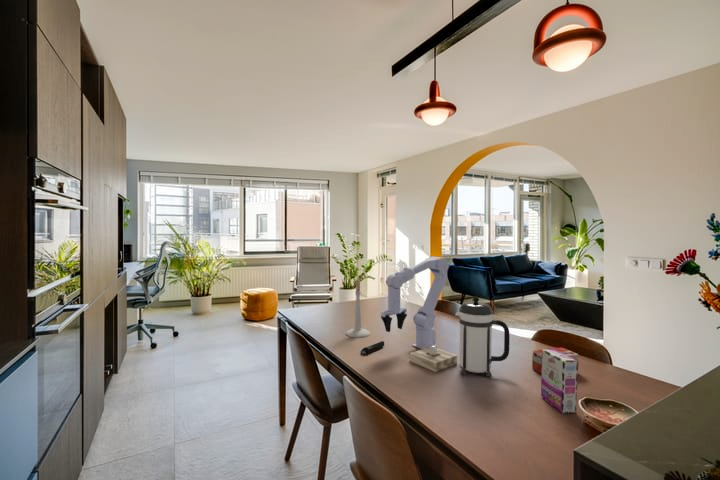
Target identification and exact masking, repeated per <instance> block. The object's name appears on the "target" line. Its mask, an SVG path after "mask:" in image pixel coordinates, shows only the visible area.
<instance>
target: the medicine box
mask: <svg viewBox="0 0 720 480" xmlns="http://www.w3.org/2000/svg"><path fill="white" fill-rule="evenodd" d="M551 349H555V350H557V351H559V352H561V353H563V354H565V355H567V356H569V357H571V358H573V359H575V360H577V361H578V362H579V354H578V353H576V352H573V350H572V351H571V350H569V349H567V348H564V347H554V348H551ZM542 350H543V349H537V350H536V349H535V350H532V358H531V359H532V360H531V362H532V364H531V365H532V370H533V371H535V370H536V371H535V372H537V371H538V372H537V373H540V374H542ZM578 372H579V367H578V368H577V373H578ZM578 374H579V373H578Z"/></svg>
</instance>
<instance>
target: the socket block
mask: <svg viewBox="0 0 720 480" xmlns="http://www.w3.org/2000/svg"><path fill="white" fill-rule="evenodd" d="M409 362H411V363H413V364H416V365H418V366H421V367H423V368H426V369H427V370H431V371H433V372H435V373H436V372H439V371H441V370H444V369H446V368H448V367H451V366H454V365H457V364H458V355H457V354H454V353H452V352H448V351H447V350H443V349H441V348H438V347H437V356H436V357H433V356H430V355H429V347H428V348H425V349H417V350H416V351H412V352H409Z"/></svg>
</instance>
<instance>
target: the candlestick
mask: <svg viewBox="0 0 720 480" xmlns="http://www.w3.org/2000/svg"><path fill="white" fill-rule="evenodd" d="M355 284H356V287H355V290H356V291H354V293H355V296H356V298H355V301H356V302H355V314H354V315H355V316H354V328H350V329H348V330H347V331H346V332H345V335H346V336H347V337H350V338H354V339H355V338H357V339H358V338H359V339H361V338H367V337H369V336H370V334H371V333H370V331H369V330H368V329H365V328H362V320H361V319H362V313H361V293H362V291H361V280H360V279H359V278H358V279H356V281H355Z"/></svg>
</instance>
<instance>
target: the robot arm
mask: <svg viewBox="0 0 720 480" xmlns="http://www.w3.org/2000/svg"><path fill="white" fill-rule="evenodd" d="M449 268H450V264H449V261H448V259H446V257H438V256H430V257H427V258H425V259H424V260H423V261H421V262H419V263H418V264H416V265H415V266H413V267H403V269H401V270H400V271H396V272H395V273H394V274H388V276H387V277H386V280H385V284H386V286H387V309H386V310H384V311H381V312H380V318H381V320H382V322H383V324H384V329H385V331H386V332H387V333H391V324H392V320H393V318H392V317H391V316H394V315H396V316H395V317H396V320H397V323H396V324H397V329H399V330H403V325H404V322H405V320H406V318H407V316H408V313H407V308H406V307H401V288H402V287H403V285H404V284H405V283H407V282H409V281H410V280H413V279H414V278H415V275H418V274H419V273H421V272H423V271H426V270H428V269H429V271H431V273H432V274H433V276H434V278H433V281H432V284H431V286H430V287H429V288H430V289H429V290H428V293H427V296H426V298H425V301H424V302H423V305H422V307H420V308H418V310H417V311H416V313H415V314H414V315H413V319H412V320H413V323H414V324H415V343H413V344H411V345H412V347H415V348H418V349H419V350H421V349H425V348H428V347H429V345H436V346H437V347H438V344H437V343H436V339H437V337H436V336H437V335H436V334H437V332H436V330H435V328H434V326H435V319H436V313H435V312H434V311H435V309H436V307H437V304H438V301H439V299H440V296H441V294H442V291H443V289H444V286H445V285H446V284H445V283H446V282H447V277H448V270H449Z"/></svg>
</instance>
